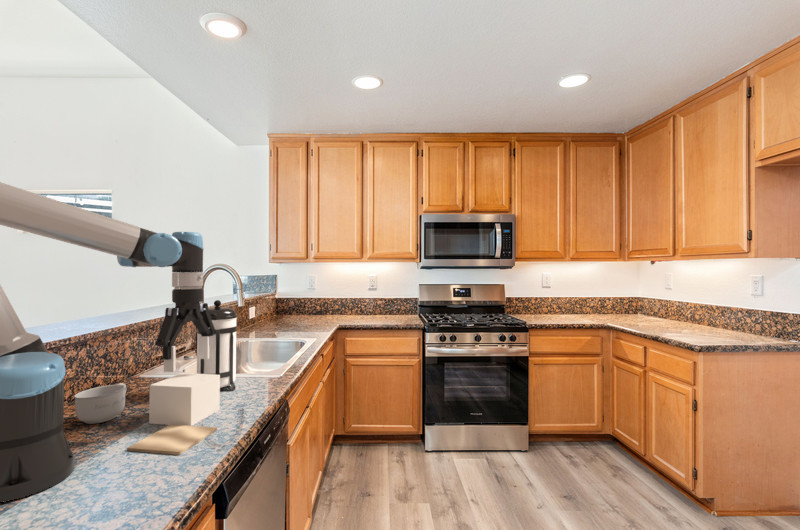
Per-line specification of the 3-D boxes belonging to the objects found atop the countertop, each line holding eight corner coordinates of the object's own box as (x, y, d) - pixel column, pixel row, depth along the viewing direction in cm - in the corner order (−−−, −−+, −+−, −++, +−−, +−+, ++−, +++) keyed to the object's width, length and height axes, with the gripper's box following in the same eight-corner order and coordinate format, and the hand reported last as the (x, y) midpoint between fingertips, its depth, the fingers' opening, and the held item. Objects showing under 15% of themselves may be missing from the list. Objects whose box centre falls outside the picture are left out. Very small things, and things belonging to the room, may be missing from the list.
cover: (190, 426, 97) (191, 387, 97) (149, 423, 99) (149, 385, 99) (219, 409, 109) (219, 374, 109) (181, 407, 111) (182, 372, 111)
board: (179, 454, 82) (180, 452, 82) (127, 450, 84) (127, 447, 84) (217, 429, 95) (217, 427, 95) (170, 426, 97) (170, 424, 97)
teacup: (97, 429, 95) (97, 397, 95) (62, 425, 97) (63, 394, 97) (144, 409, 109) (145, 381, 109) (113, 406, 111) (114, 379, 111)
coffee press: (178, 392, 124) (179, 301, 124) (218, 379, 138) (219, 298, 139) (216, 400, 117) (218, 303, 117) (255, 385, 132) (256, 299, 132)
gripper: (166, 290, 92) (166, 378, 92) (227, 285, 116) (227, 354, 116) (138, 290, 93) (138, 377, 93) (204, 285, 117) (205, 353, 117)
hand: (188, 364), depth 104 cm, fingers open, 13 cm apart
